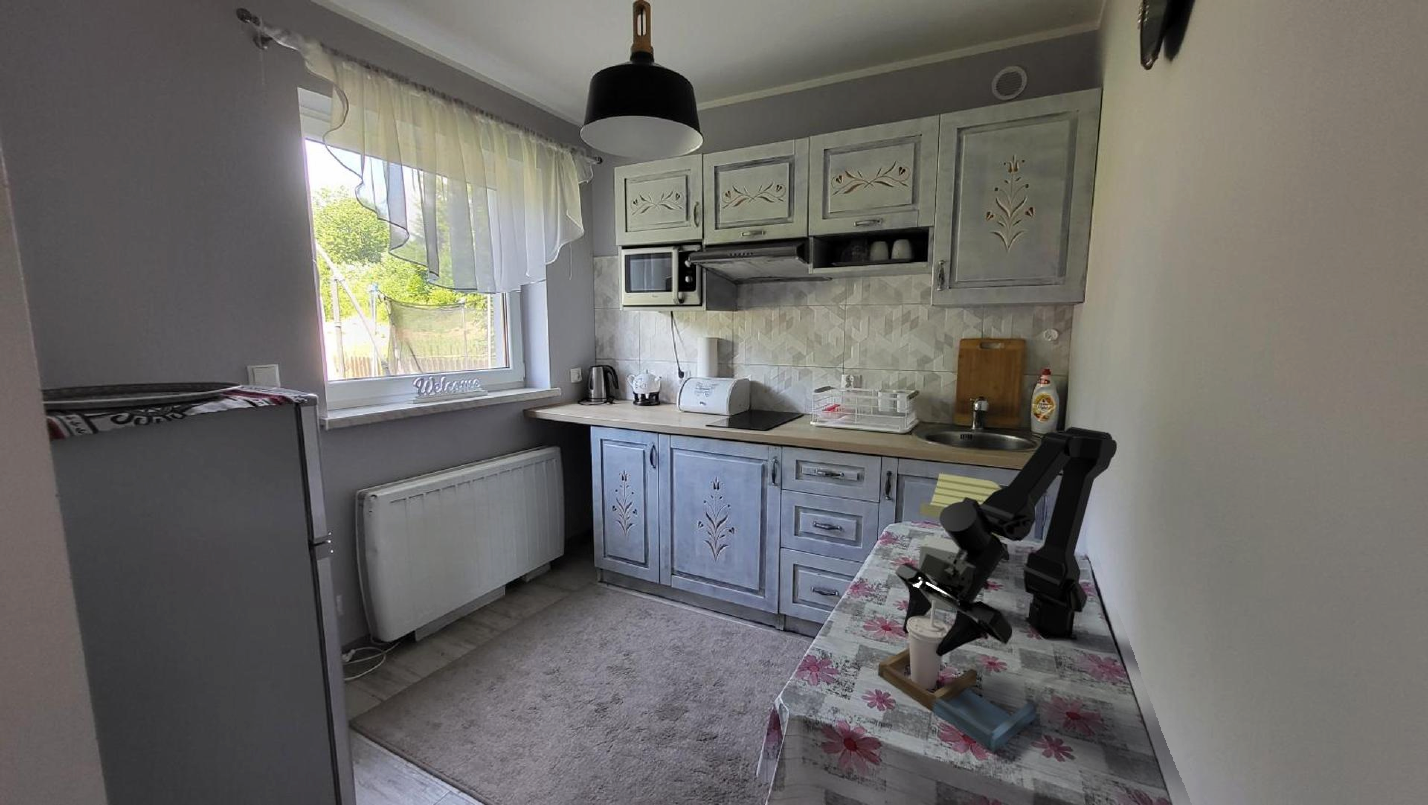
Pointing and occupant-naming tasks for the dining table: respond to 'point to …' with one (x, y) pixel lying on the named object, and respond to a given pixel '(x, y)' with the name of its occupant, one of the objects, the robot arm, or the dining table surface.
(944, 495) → the slatted curved stool
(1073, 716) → the dining table surface
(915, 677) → the smoothie
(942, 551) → the supplement box
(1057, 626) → the robot arm
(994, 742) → the blue and brown frame
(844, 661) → the dining table surface
